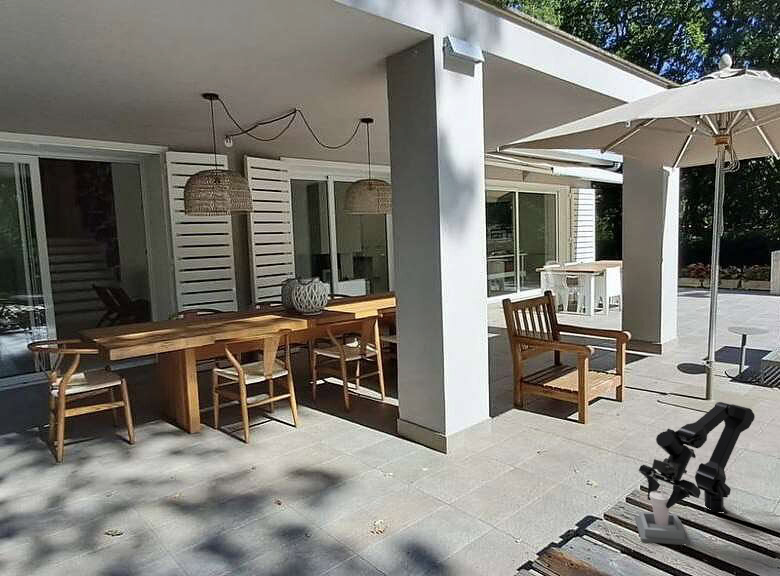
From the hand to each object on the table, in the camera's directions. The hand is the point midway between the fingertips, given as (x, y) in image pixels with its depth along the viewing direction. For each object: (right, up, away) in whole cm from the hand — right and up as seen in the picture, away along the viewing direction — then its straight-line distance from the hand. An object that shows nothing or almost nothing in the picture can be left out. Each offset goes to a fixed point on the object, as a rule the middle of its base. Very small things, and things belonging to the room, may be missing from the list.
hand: (657, 503), depth 171 cm
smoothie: (+2, -7, +1) cm, 7 cm away
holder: (+2, -10, +1) cm, 10 cm away
